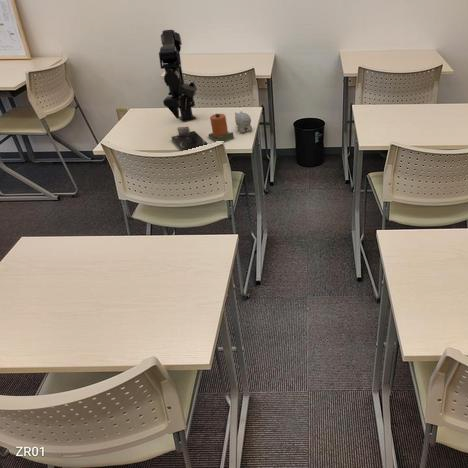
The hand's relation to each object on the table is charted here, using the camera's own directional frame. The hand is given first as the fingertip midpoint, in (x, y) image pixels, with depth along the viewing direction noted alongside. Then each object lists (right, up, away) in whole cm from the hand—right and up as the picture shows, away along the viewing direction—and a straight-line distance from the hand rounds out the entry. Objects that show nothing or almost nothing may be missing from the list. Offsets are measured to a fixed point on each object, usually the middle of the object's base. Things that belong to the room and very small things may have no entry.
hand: (181, 114), depth 213 cm
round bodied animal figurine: (+25, -3, +14) cm, 29 cm away
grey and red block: (0, -8, +6) cm, 10 cm away
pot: (+16, -8, +5) cm, 19 cm away
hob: (+3, -12, +3) cm, 13 cm away
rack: (+17, -9, +7) cm, 20 cm away
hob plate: (+5, -13, -1) cm, 14 cm away
